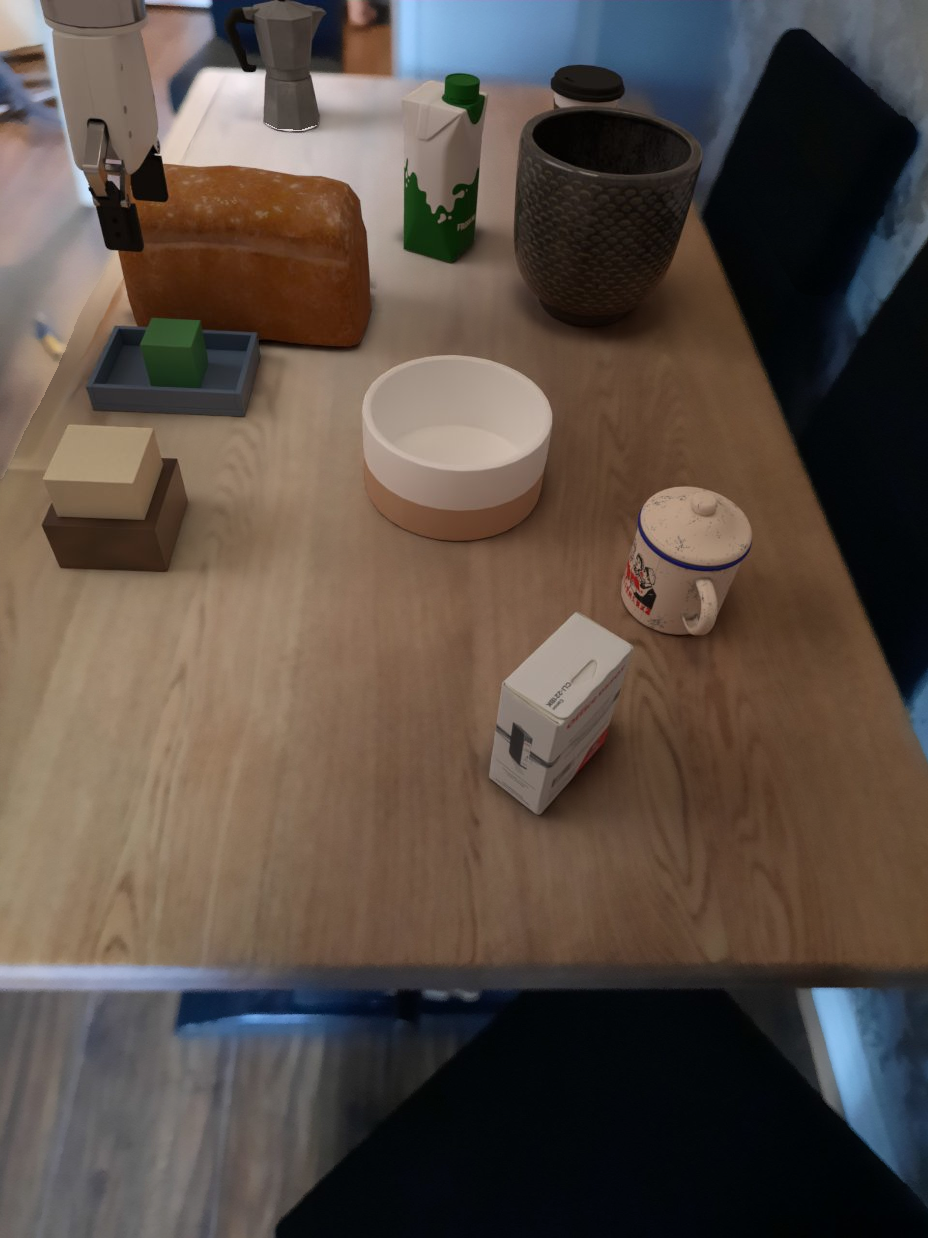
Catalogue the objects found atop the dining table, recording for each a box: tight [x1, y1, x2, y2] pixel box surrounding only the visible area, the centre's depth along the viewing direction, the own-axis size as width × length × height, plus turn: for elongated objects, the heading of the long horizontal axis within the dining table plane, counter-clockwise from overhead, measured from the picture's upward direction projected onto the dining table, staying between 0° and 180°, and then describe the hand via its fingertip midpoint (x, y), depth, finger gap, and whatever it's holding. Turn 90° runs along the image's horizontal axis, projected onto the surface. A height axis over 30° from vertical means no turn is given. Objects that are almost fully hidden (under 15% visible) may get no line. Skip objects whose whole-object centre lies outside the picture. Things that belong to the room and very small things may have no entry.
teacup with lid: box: [620, 486, 753, 636], centre depth 69 cm, size 12×9×12 cm
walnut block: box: [41, 457, 189, 572], centre depth 74 cm, size 9×9×5 cm
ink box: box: [488, 611, 634, 816], centre depth 59 cm, size 8×5×12 cm, turn 140°
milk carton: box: [400, 72, 489, 264], centre depth 106 cm, size 9×9×20 cm
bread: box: [117, 163, 372, 347], centre depth 94 cm, size 14×26×16 cm, turn 87°
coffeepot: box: [223, 0, 327, 130], centre depth 130 cm, size 15×9×18 cm, turn 114°
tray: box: [85, 325, 261, 418], centre depth 89 cm, size 15×11×3 cm
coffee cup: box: [550, 64, 626, 109], centre depth 128 cm, size 11×11×12 cm
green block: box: [140, 318, 209, 389], centre depth 88 cm, size 5×5×5 cm
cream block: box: [42, 423, 163, 520], centre depth 70 cm, size 7×7×4 cm
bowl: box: [361, 354, 553, 542], centre depth 80 cm, size 17×17×8 cm
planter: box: [513, 106, 703, 327], centre depth 98 cm, size 20×20×19 cm
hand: (139, 223), depth 78 cm, fingers open, 9 cm apart
